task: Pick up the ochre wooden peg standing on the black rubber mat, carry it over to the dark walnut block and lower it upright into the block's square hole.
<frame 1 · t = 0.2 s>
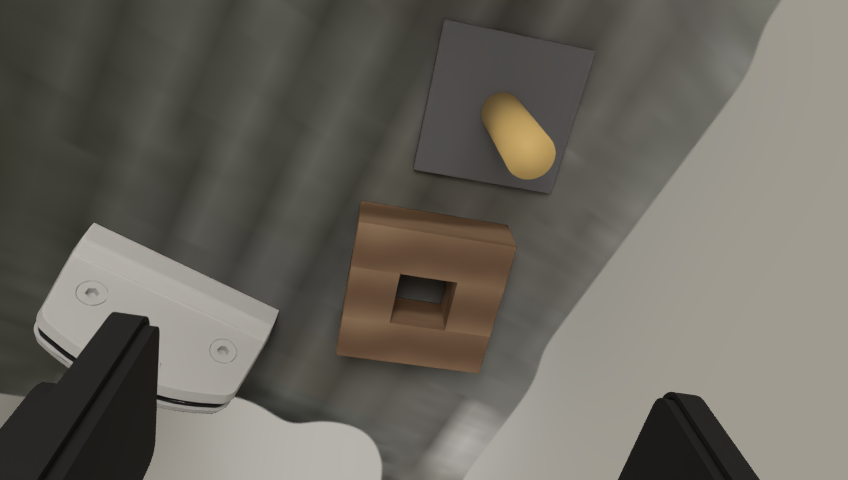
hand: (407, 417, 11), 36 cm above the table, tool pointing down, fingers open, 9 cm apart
peg: (501, 112, 45), point 1 cm above the table, touching mat
hole block: (420, 277, 51), on the table
white plastic device case: (173, 300, 51), on the table
mat: (500, 110, 45), on the table
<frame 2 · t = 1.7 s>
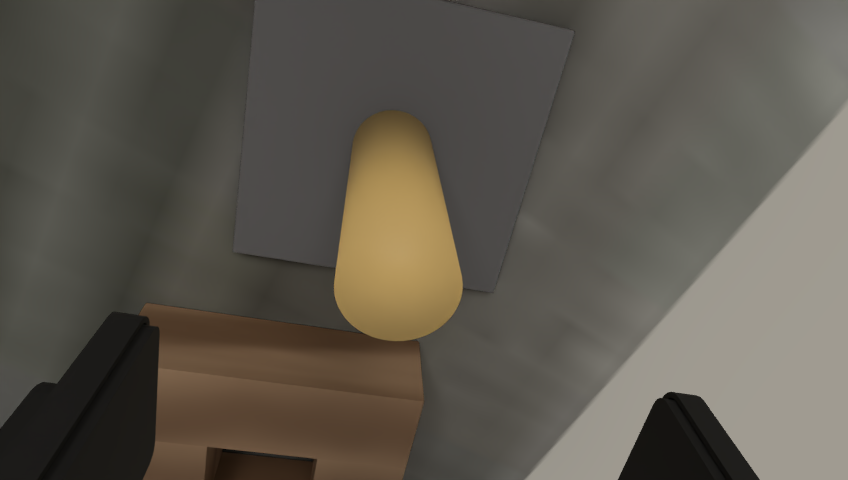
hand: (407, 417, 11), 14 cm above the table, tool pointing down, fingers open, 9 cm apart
peg: (392, 149, 23), point 1 cm above the table, touching mat
hole block: (272, 423, 30), on the table
mat: (392, 144, 24), on the table
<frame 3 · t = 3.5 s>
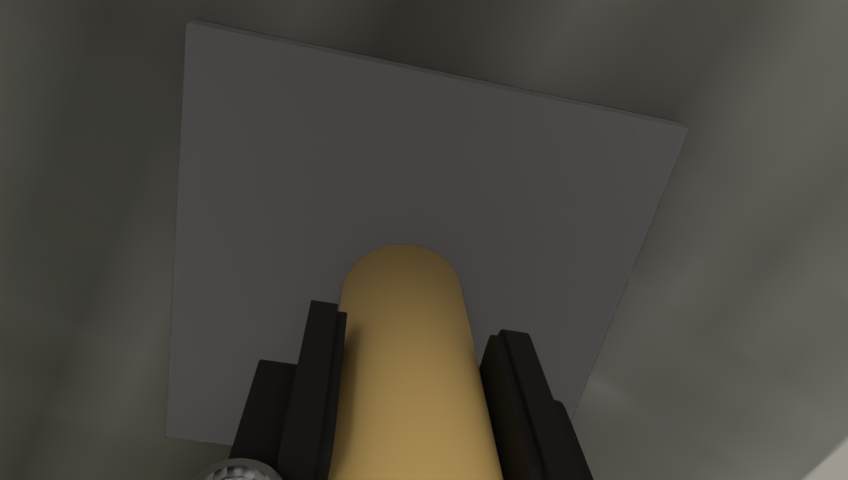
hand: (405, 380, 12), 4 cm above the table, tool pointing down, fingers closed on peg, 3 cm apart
peg: (402, 298, 15), point 1 cm above the table, touching gripper, mat
mat: (401, 286, 16), on the table
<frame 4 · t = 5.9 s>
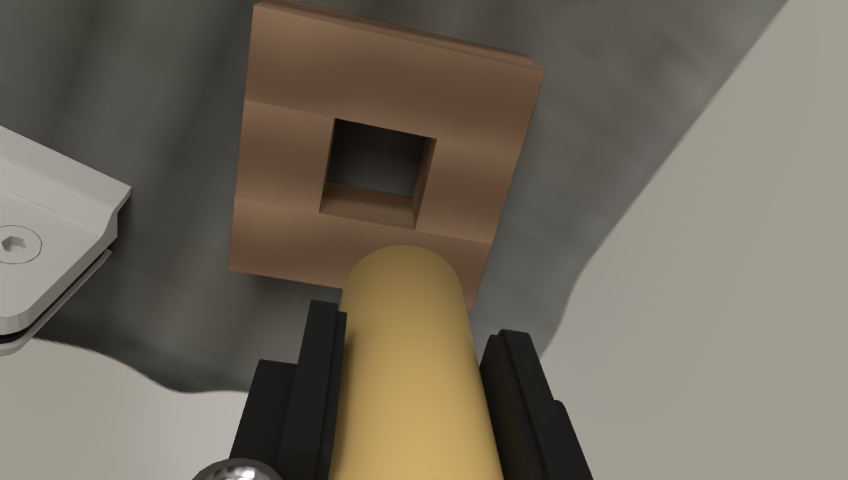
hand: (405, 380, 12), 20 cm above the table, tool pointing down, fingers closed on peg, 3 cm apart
peg: (402, 299, 15), point 17 cm above the table, touching gripper
hole block: (377, 148, 31), on the table
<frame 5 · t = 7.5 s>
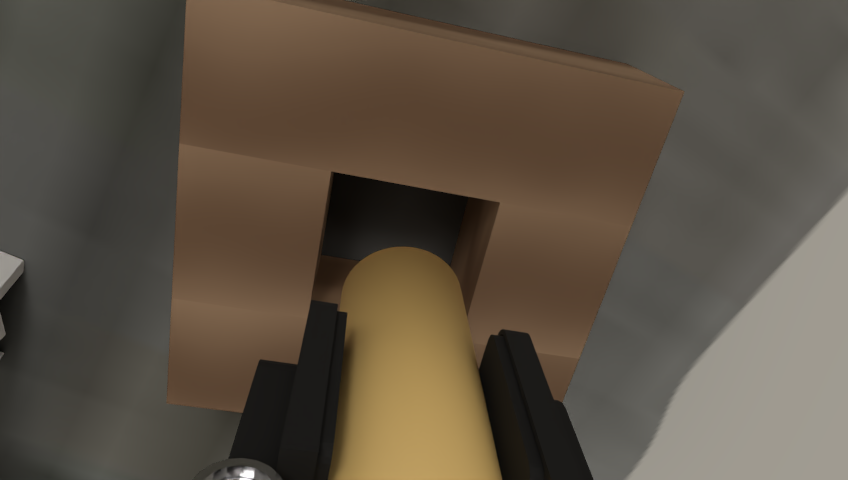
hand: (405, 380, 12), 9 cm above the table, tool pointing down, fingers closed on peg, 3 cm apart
peg: (401, 300, 15), point 6 cm above the table, touching gripper
hole block: (397, 206, 20), on the table
when the fingers open (5 cm above the table, at t = 8.6 s): peg drops 2 cm, resting in hole block.
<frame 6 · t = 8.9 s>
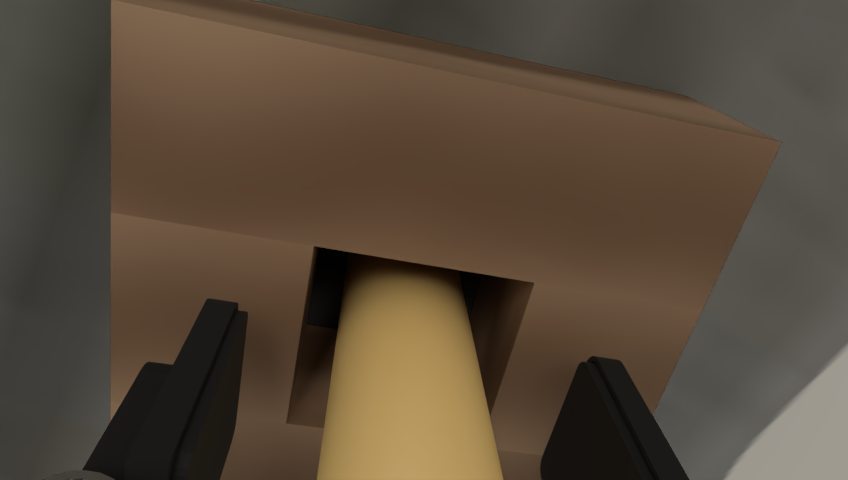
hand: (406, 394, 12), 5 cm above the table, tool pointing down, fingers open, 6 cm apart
peg: (402, 268, 17), resting in hole block
hole block: (400, 268, 17), on the table
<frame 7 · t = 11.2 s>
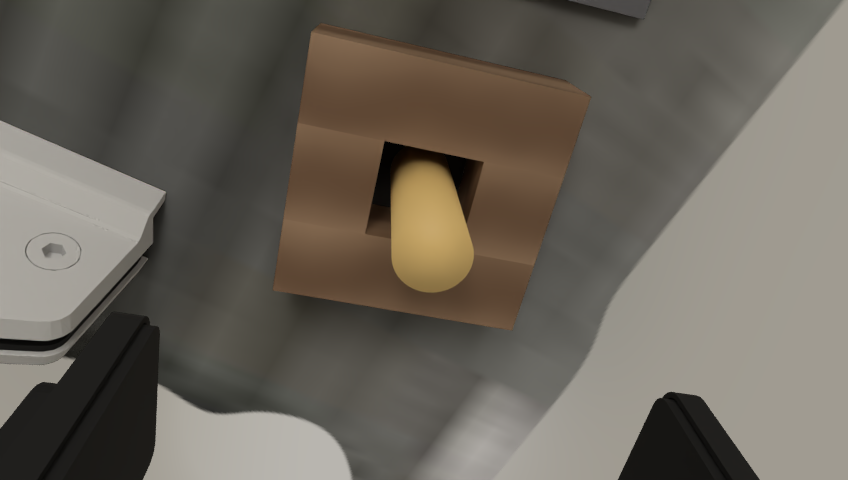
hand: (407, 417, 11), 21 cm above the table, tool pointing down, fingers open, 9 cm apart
peg: (419, 171, 31), resting in hole block
hole block: (418, 171, 31), on the table
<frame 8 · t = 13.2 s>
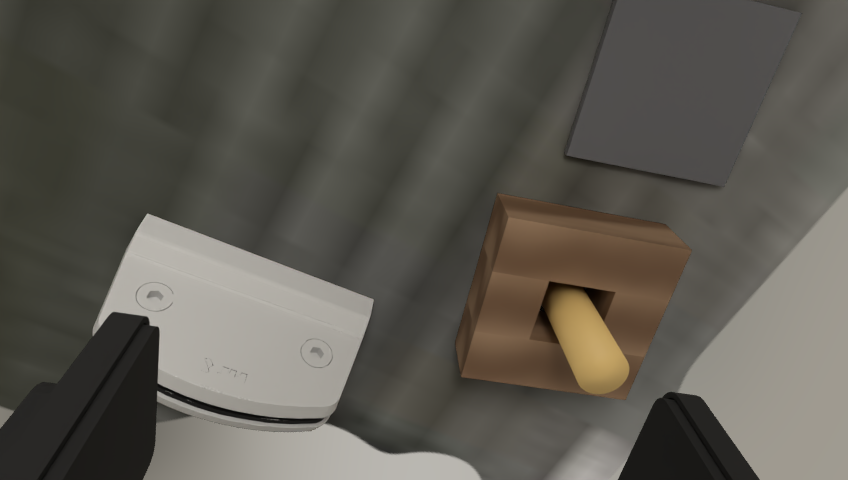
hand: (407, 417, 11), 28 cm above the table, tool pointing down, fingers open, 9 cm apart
peg: (556, 285, 43), resting in hole block
hole block: (556, 285, 43), on the table
white plastic device case: (247, 300, 43), on the table
mat: (675, 85, 38), on the table
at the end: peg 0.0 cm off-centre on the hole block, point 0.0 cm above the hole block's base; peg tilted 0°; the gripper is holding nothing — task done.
